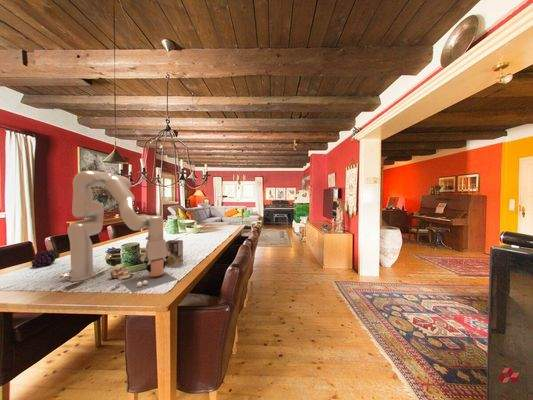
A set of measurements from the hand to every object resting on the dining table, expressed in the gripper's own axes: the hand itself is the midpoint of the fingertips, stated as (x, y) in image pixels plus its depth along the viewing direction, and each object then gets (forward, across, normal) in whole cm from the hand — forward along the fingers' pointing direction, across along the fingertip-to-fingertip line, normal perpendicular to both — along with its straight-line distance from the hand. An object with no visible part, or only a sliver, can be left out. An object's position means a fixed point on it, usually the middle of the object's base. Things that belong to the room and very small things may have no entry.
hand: (156, 269), depth 126 cm
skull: (+5, -14, +13) cm, 20 cm away
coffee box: (+5, +16, +12) cm, 21 cm away
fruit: (+5, -40, +72) cm, 83 cm away
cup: (+3, 0, 0) cm, 3 cm away
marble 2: (+4, -9, -8) cm, 12 cm away
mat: (+5, -5, -4) cm, 8 cm away
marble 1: (+4, -11, -8) cm, 14 cm away
